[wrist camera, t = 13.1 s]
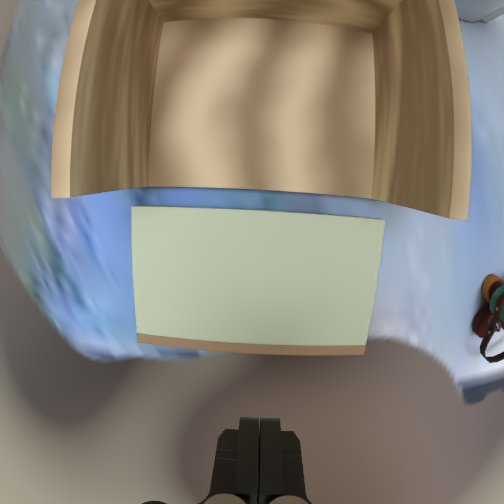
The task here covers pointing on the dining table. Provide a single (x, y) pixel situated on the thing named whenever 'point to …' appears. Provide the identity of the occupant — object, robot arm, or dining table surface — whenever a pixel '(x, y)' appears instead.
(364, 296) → the panel
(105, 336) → the dining table surface
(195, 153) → the crate
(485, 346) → the binoculars
